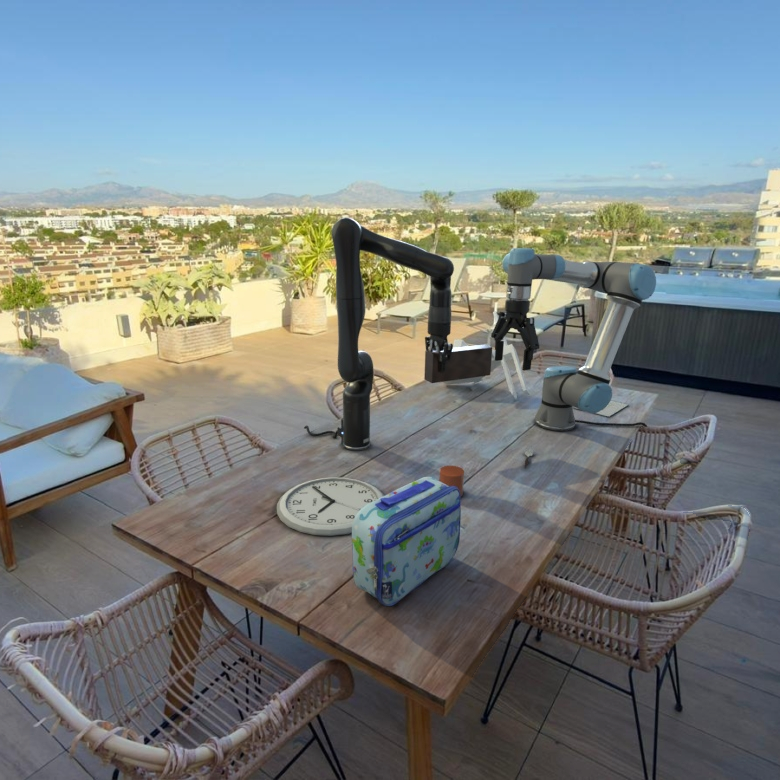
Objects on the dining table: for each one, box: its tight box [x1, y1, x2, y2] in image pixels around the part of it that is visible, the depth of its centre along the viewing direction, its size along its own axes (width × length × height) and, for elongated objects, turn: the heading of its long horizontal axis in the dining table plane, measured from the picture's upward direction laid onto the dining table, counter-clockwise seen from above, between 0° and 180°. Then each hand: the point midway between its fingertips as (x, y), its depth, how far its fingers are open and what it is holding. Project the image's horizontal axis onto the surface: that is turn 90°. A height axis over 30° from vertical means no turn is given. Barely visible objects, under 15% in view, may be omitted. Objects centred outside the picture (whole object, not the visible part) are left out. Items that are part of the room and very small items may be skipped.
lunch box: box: [351, 476, 462, 607], centre depth 111 cm, size 26×11×21 cm, turn 135°
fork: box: [524, 445, 535, 469], centre depth 172 cm, size 3×16×2 cm, turn 160°
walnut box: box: [423, 344, 493, 384], centre depth 178 cm, size 24×5×10 cm, turn 117°
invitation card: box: [573, 400, 629, 418], centre depth 226 cm, size 21×1×15 cm
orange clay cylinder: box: [438, 465, 465, 498], centre depth 150 cm, size 7×7×7 cm
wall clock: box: [276, 476, 385, 537], centre depth 142 cm, size 30×2×30 cm
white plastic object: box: [443, 310, 531, 400], centre depth 245 cm, size 37×45×31 cm
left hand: (437, 369), depth 175 cm, fingers closed on walnut box, 5 cm apart
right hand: (512, 365), depth 170 cm, fingers open, 13 cm apart
